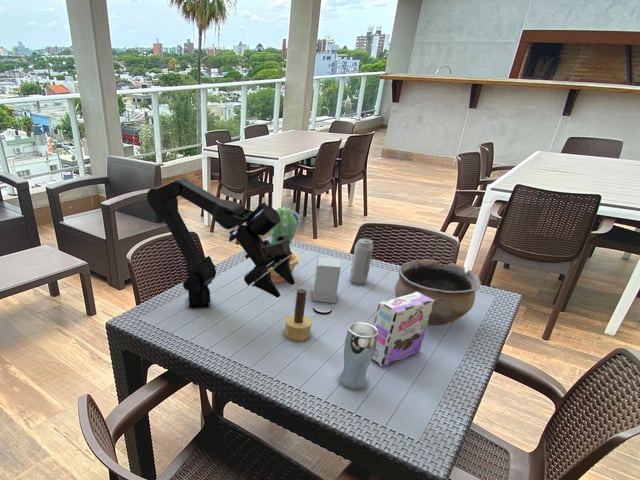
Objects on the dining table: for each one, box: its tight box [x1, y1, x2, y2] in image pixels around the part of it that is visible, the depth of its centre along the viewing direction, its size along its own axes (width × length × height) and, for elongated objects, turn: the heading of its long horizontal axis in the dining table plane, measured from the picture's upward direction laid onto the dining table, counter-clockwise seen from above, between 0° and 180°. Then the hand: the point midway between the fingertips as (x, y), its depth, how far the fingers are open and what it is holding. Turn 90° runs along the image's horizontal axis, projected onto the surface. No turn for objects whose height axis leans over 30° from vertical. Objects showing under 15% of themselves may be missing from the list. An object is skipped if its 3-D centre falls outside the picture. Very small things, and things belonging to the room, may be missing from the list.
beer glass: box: [339, 321, 378, 390], centre depth 103 cm, size 7×7×15 cm
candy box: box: [371, 292, 435, 368], centre depth 112 cm, size 14×6×16 cm, turn 117°
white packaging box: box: [312, 257, 342, 304], centre depth 142 cm, size 7×7×13 cm
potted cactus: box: [267, 206, 301, 283], centre depth 152 cm, size 15×15×25 cm
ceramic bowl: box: [394, 258, 482, 326], centre depth 130 cm, size 22×22×15 cm
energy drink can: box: [349, 238, 375, 285], centre depth 152 cm, size 6×6×15 cm
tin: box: [284, 323, 312, 342], centre depth 124 cm, size 7×7×4 cm
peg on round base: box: [284, 288, 313, 329], centre depth 121 cm, size 8×8×11 cm
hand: (286, 290), depth 121 cm, fingers open, 9 cm apart
